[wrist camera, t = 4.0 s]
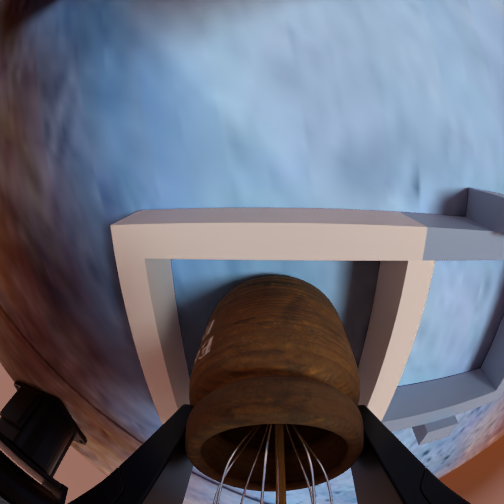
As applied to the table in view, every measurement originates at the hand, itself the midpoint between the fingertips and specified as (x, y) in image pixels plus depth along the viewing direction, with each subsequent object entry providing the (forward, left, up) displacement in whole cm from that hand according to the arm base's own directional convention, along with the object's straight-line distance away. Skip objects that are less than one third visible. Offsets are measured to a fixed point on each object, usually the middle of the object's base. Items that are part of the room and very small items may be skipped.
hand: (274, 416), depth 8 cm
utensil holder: (0, 0, -5) cm, 5 cm away
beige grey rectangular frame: (0, -5, -5) cm, 7 cm away
